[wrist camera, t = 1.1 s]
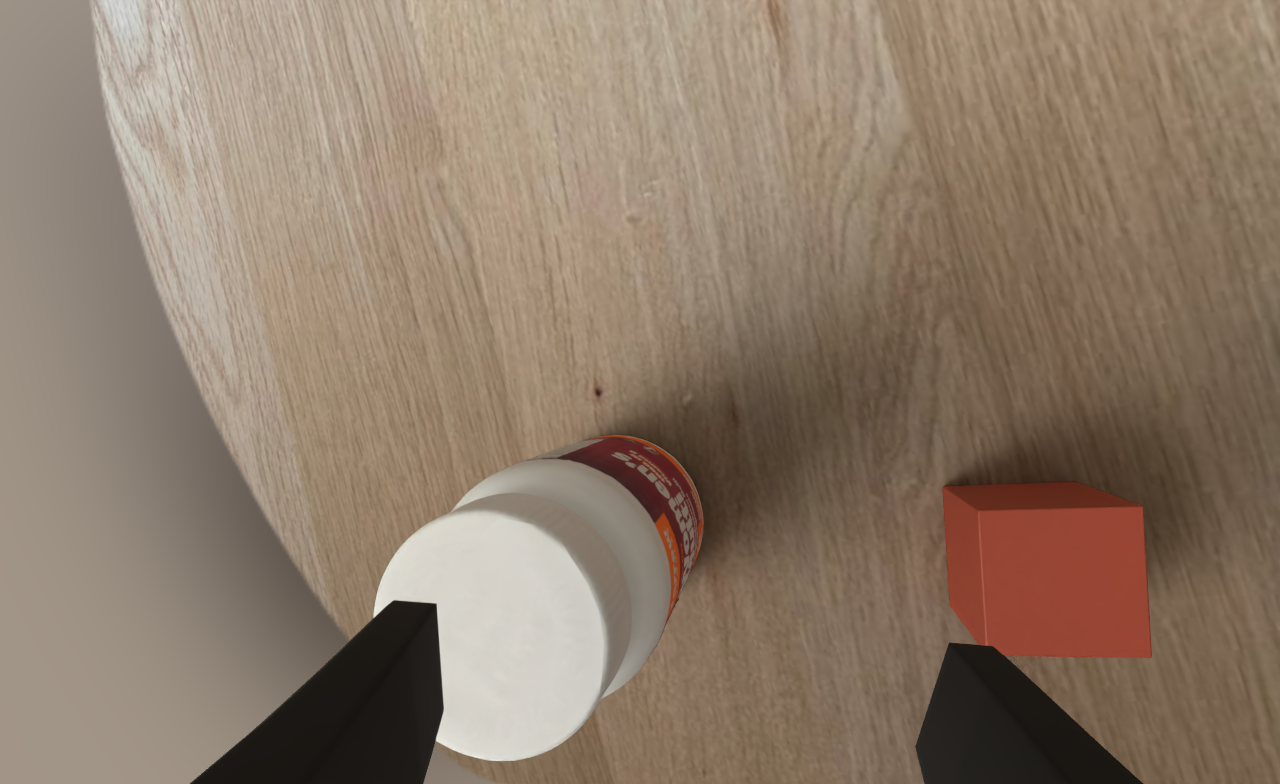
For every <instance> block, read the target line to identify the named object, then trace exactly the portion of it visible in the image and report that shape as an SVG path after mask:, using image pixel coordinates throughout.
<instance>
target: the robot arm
mask: <svg viewBox="0 0 1280 784" xmlns="http://www.w3.org/2000/svg"><path fill="white" fill-rule="evenodd" d="M443 712H444V703H443V689H442V675H441V660H440V646H439V632H438V617H437V603H424V602H411V601H398V600H393V601H392V602H391V603H390V604H388V605H387V606H386V607H385V608H384V609H383V610H382V611H381V612H379V613H378V614H377V615H376V616H375V617H374V618H373V619H372V620H371V621H370V622H369V623H368V624H367V625H366V626H365V627H364V628H363V629H362V630H361V631H360V632H359V633H358V634H357V635H356V636H355V637H354V638H352V639H351V640H350V641H349V642H348V643H347V644H346V645H345V646H344V647H343V648H342V649H341V650H340V651H339V652H338V653H337V654H336V655H335V656H334V657H333V658H332V659H331V660H330V661H328V663H326V664H325V665H324V666H323V667H322V668H321V669H320V670H319V671H318V672H317V673H316V674H315V675H314V676H313V677H311V678H310V679H309V680H308V681H307V682H306V683H305V684H304V685H303V686H302V687H300V688H299V689H298V690H297V691H296V692H295V693H294V694H293V695H292V696H291V697H290V698H288V699H287V700H286V701H285V702H284V703H283V704H282V705H281V706H280V707H279V708H277V709H276V710H275V711H274V712H273V713H272V714H271V715H270V716H269V717H268V718H267V719H265V720H264V721H263V722H262V723H261V724H260V725H259V726H257V727H256V728H255V729H254V730H253V731H252V732H251V733H249V735H247V736H246V737H245V738H244V739H242V740H241V741H240V742H239V743H238V744H236V745H235V746H234V747H233V748H232V749H230V750H229V751H228V752H227V753H226V754H225V755H223V756H222V757H221V758H220V759H219V760H217V761H216V762H215V763H214V764H213V765H211V766H210V767H209V768H208V769H207V770H206V771H204V772H203V773H202V774H201V775H200V776H199V777H197V778H196V779H195V780H194V781H192V782H191V783H190V784H423V782H424V779H425V775H426V772H427V769H428V765H429V762H430V758H431V755H432V751H433V748H434V744H435V741H436V737H437V734H438V730H439V726H440V723H441V719H442V715H443ZM916 751H917V755H918V759H919V763H920V767H921V771H922V775H923V779H924V783H925V784H1143V783H1142V782H1141V781H1140V780H1138V779H1137V778H1136V777H1135V776H1134V775H1133V774H1132V773H1131V772H1130V771H1129V770H1127V769H1126V768H1125V767H1124V766H1123V765H1122V764H1121V763H1120V762H1119V761H1118V760H1116V759H1115V758H1114V757H1113V756H1112V755H1111V754H1110V753H1109V752H1108V751H1107V750H1106V749H1104V748H1103V747H1102V746H1101V745H1100V744H1099V743H1098V742H1097V741H1096V740H1095V739H1094V738H1093V737H1091V736H1090V735H1089V734H1088V733H1087V732H1086V731H1085V730H1084V729H1083V728H1082V727H1081V726H1080V725H1079V724H1077V723H1076V722H1075V721H1074V720H1073V719H1072V718H1071V717H1070V716H1069V715H1068V714H1067V713H1066V712H1065V711H1064V710H1062V709H1061V708H1060V707H1059V706H1058V705H1057V704H1056V703H1055V702H1054V701H1053V700H1052V699H1051V698H1050V697H1049V696H1047V695H1046V694H1045V693H1044V692H1043V691H1042V690H1041V689H1040V688H1039V687H1038V686H1037V685H1036V684H1035V683H1034V682H1032V681H1031V680H1030V679H1029V678H1028V677H1027V676H1026V675H1025V674H1024V673H1023V672H1022V671H1021V670H1019V669H1018V668H1017V667H1016V666H1015V665H1014V664H1013V663H1012V662H1011V661H1009V660H1008V659H1007V658H1006V657H1005V656H1004V655H1003V654H1001V653H1000V652H999V651H998V650H997V649H996V648H995V647H993V646H985V645H972V644H959V643H949V645H948V648H947V651H946V654H945V657H944V660H943V663H942V667H941V670H940V673H939V676H938V679H937V682H936V685H935V688H934V691H933V694H932V697H931V700H930V704H929V707H928V710H927V713H926V716H925V719H924V722H923V725H922V728H921V731H920V734H919V738H918V741H917V744H916Z"/></svg>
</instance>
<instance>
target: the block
mask: <svg viewBox="0 0 1280 784" xmlns="http://www.w3.org/2000/svg"><path fill="white" fill-rule="evenodd" d="M943 503H944V519H945V535H946V551H947V567H948V583H949V599H950V606H951V607H952V609H953V610H954V612H955V613H956V614H957V616H958V617H959V618H960V620H961V621H962V622H963V624H964V625H965V627H966V628H967V629H968V631H969V632H970V633H971V635H972V636H973V637H974V639H975V640H976V641H977V643H978V644H979V645H985V646H993V647H995V648H996V649H997V650H998V651H999V652H1000V653H1001V654H1003V655H1004V656H1051V657H1118V658H1151V657H1152V651H1151V634H1150V617H1149V600H1148V582H1147V565H1146V548H1145V531H1144V513H1143V506H1141V505H1138V504H1135V503H1132V502H1130V501H1127V500H1124V499H1122V498H1119V497H1116V496H1113V495H1111V494H1108V493H1105V492H1103V491H1100V490H1097V489H1094V488H1092V487H1089V486H1086V485H1083V484H1081V483H1078V482H1048V483H1018V484H988V485H958V486H943Z"/></svg>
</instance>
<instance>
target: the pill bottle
mask: <svg viewBox="0 0 1280 784" xmlns="http://www.w3.org/2000/svg"><path fill="white" fill-rule="evenodd" d="M703 522H704V520H703V511H702V505H701V501H700V498H699V495H698V492H697V489H696V487H695V485H694V483H693V481H692V479H691V478H690V476H689V474H688V473H687V472H686V470H685V469H684V468H683V466H682V465H681V464H680V463H679V462H678V461H677V460H676V459H675V458H674V457H673V456H672V455H671V454H669V453H668V452H667V451H665V450H664V449H662V448H660V447H659V446H657V445H655V444H653V443H651V442H649V441H646V440H643V439H640V438H636V437H631V436H625V435H608V436H600V437H596V438H592V439H588V440H585V441H581V442H579V443H576V444H572V445H569V446H565V447H562V448H559V449H556V450H553V451H550V452H547V453H545V454H542V455H539V456H536V457H534V458H531V459H528V460H526V461H523V462H520V463H518V464H515V465H512V466H510V467H508V468H505V469H503V470H501V471H499V472H497V473H494V474H493V475H491V476H489V477H488V478H486V479H485V480H483V481H482V482H480V483H479V484H477V485H476V486H475V487H474V488H472V489H471V490H470V491H469V492H468V493H467V494H466V495H465V496H464V497H463V498H462V499H461V500H460V501H459V502H458V504H457V505H456V506H455V507H454V509H453V510H452V511H451V512H449V513H447V514H445V515H443V516H441V517H438V518H436V519H434V520H433V521H431V522H429V523H428V524H426V525H424V526H423V527H422V528H420V529H419V530H418V531H416V532H415V533H414V534H413V535H412V536H411V537H410V538H409V539H408V540H407V541H405V543H404V544H403V545H402V546H401V547H400V548H399V549H398V551H397V552H396V553H395V555H394V556H393V558H392V560H391V561H390V563H389V565H388V567H387V569H386V571H385V573H384V575H383V578H382V580H381V582H380V585H379V588H378V593H377V597H376V602H375V608H374V617H375V616H376V615H377V614H378V613H379V612H381V611H382V610H383V609H384V608H385V607H386V606H387V605H388V604H390V603H391V602H392V601H393V600H398V601H411V602H424V603H437V617H438V632H439V646H440V660H441V675H442V689H443V703H444V712H443V715H442V719H441V723H440V726H439V730H438V734H437V737H436V741H438V742H439V743H441V744H443V745H444V746H446V747H448V748H450V749H452V750H454V751H457V752H459V753H462V754H465V755H468V756H472V757H476V758H480V759H484V760H491V761H514V760H520V759H524V758H529V757H532V756H536V755H539V754H541V753H544V752H546V751H549V750H551V749H553V748H555V747H556V746H558V745H560V744H561V743H563V742H564V741H565V740H567V739H568V738H570V737H571V736H572V735H573V734H574V733H575V732H576V731H578V730H579V729H580V728H581V727H582V725H583V724H584V723H585V722H586V721H587V720H588V718H589V717H590V716H591V714H592V713H593V711H594V710H595V708H596V707H597V705H598V703H599V701H600V700H601V699H602V698H604V697H606V696H608V695H609V694H611V693H613V692H614V691H616V690H617V689H619V688H620V687H622V686H623V685H624V684H625V683H627V682H628V681H629V680H630V679H631V678H632V677H633V676H634V675H635V674H636V673H637V672H638V671H639V670H640V669H641V667H642V666H643V665H644V663H645V662H646V661H647V659H648V658H649V656H650V655H651V653H652V652H653V650H654V649H655V647H656V646H657V644H658V642H659V640H660V638H661V636H662V633H663V630H664V628H665V625H666V623H667V621H668V619H669V616H670V614H671V613H672V610H673V608H674V607H675V604H676V603H677V601H678V599H679V596H680V593H681V591H682V589H683V587H684V584H685V582H686V580H687V578H688V576H689V574H690V572H691V570H692V568H693V565H694V563H695V561H696V558H697V556H698V553H699V550H700V546H701V542H702V536H703Z"/></svg>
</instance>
